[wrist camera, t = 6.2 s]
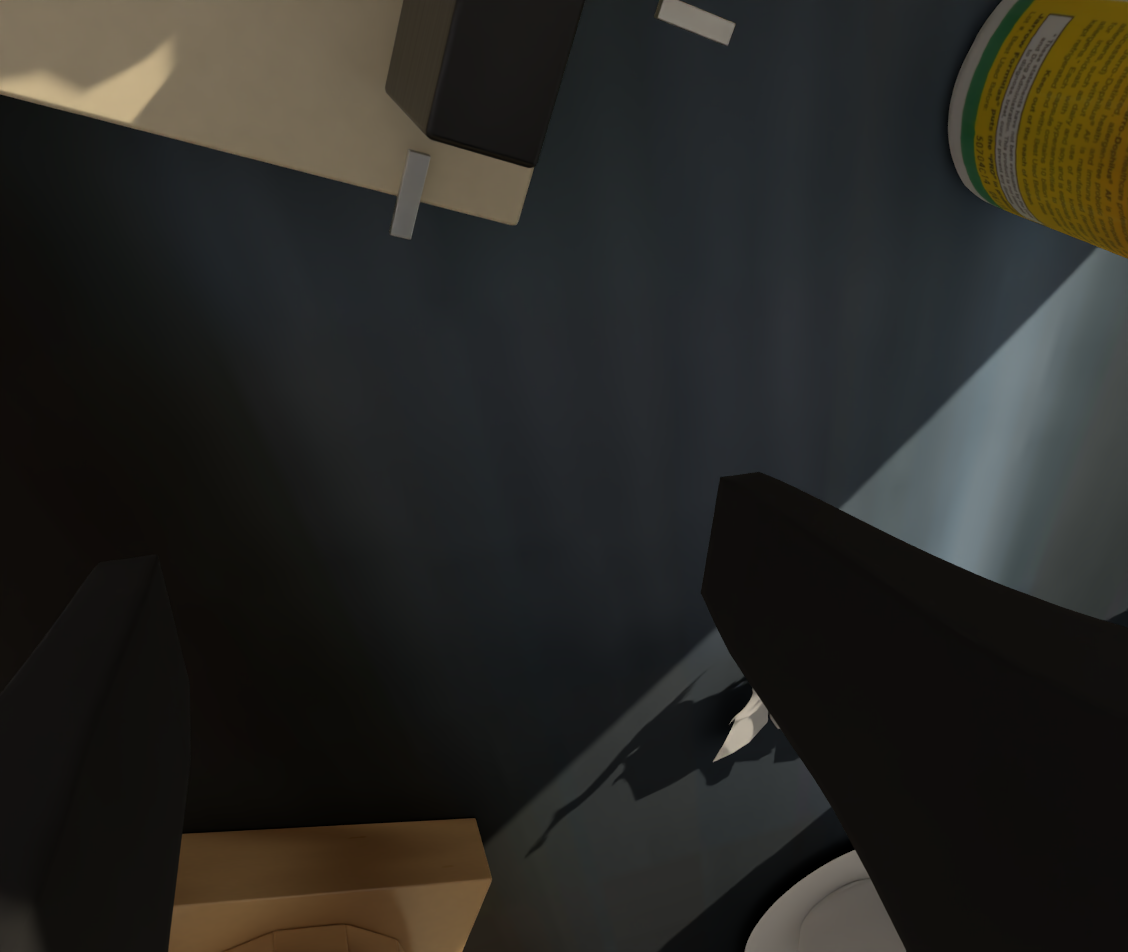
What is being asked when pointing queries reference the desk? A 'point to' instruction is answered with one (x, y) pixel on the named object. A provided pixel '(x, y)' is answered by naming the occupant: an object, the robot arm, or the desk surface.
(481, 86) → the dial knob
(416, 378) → the desk surface
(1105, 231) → the supplement bottle
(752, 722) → the flower
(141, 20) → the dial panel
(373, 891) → the lid base
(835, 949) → the teacup
